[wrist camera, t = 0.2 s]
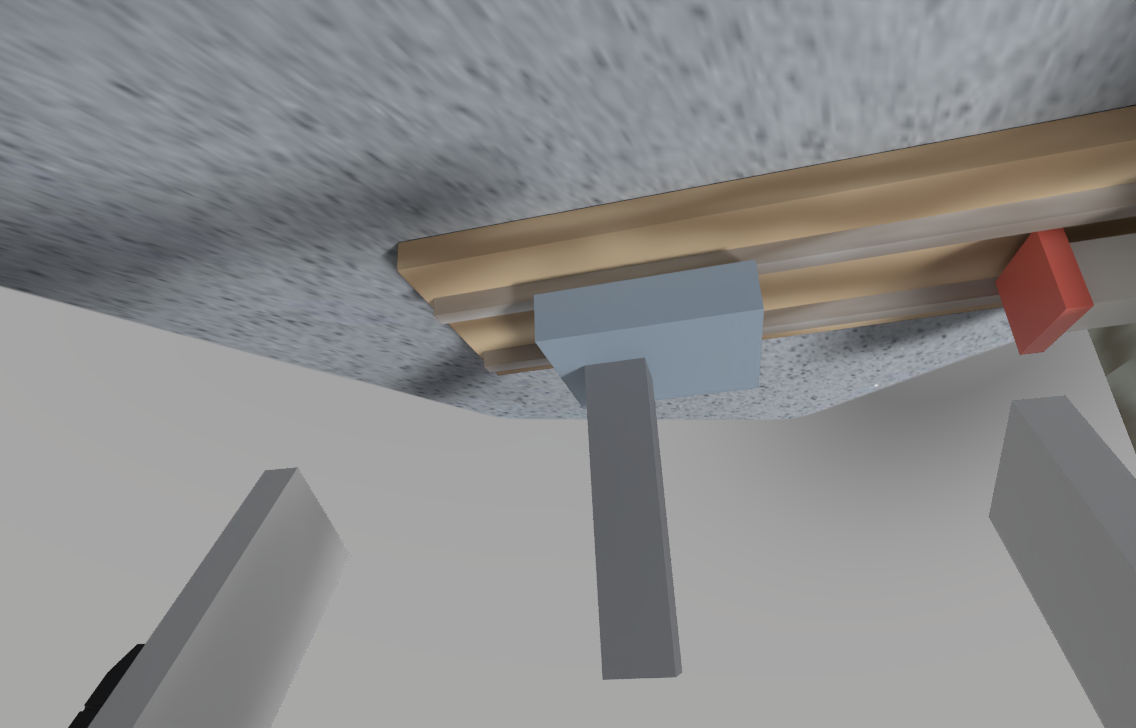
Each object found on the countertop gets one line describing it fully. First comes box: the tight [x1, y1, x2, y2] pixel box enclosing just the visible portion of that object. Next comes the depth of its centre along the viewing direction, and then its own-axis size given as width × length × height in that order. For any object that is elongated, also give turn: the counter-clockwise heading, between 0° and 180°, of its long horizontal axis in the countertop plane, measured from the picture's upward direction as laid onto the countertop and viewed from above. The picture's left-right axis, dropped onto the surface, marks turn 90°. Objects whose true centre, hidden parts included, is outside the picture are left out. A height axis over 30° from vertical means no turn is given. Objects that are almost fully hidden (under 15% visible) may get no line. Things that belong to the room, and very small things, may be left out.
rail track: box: [397, 106, 1136, 453], centre depth 31 cm, size 14×38×14 cm, turn 104°
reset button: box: [995, 228, 1136, 355], centre depth 29 cm, size 5×7×4 cm
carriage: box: [534, 260, 764, 680], centre depth 31 cm, size 10×10×16 cm
